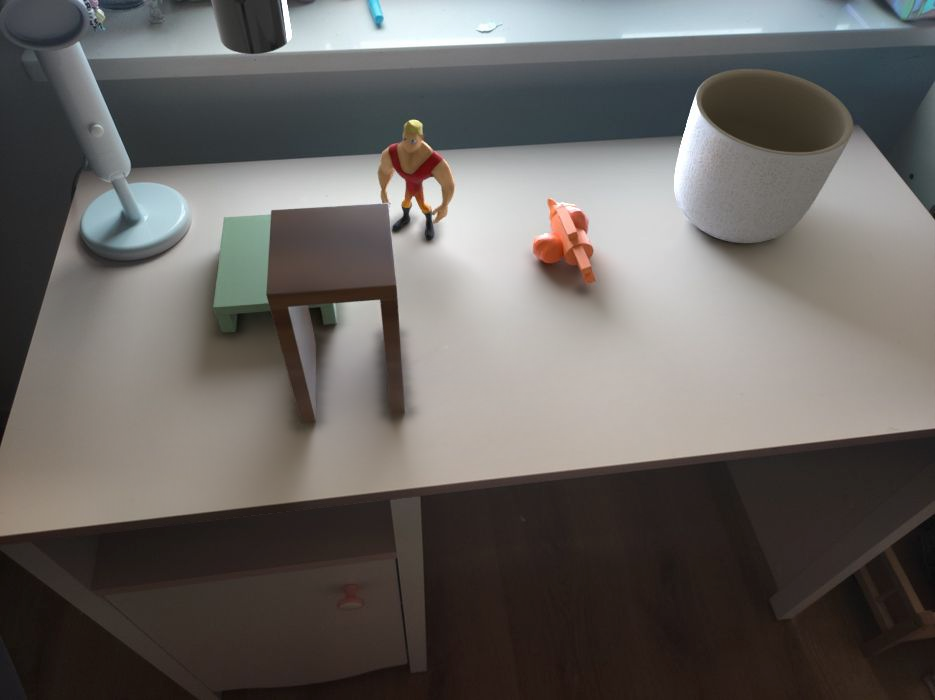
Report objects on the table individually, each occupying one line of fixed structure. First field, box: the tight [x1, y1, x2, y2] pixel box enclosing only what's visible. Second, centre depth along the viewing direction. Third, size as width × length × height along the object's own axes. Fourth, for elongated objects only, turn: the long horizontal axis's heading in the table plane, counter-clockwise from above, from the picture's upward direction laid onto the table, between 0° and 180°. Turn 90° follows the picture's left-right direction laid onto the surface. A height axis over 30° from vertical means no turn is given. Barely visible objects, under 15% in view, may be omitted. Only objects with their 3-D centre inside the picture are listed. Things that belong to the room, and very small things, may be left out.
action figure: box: [377, 119, 456, 240], centre depth 80 cm, size 10×4×15 cm, turn 70°
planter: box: [673, 68, 854, 244], centre depth 83 cm, size 17×17×15 cm
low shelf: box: [212, 213, 338, 334], centre depth 78 cm, size 14×12×4 cm
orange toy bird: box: [532, 197, 597, 285], centre depth 82 cm, size 5×8×12 cm
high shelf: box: [266, 202, 406, 424], centre depth 64 cm, size 10×10×18 cm
